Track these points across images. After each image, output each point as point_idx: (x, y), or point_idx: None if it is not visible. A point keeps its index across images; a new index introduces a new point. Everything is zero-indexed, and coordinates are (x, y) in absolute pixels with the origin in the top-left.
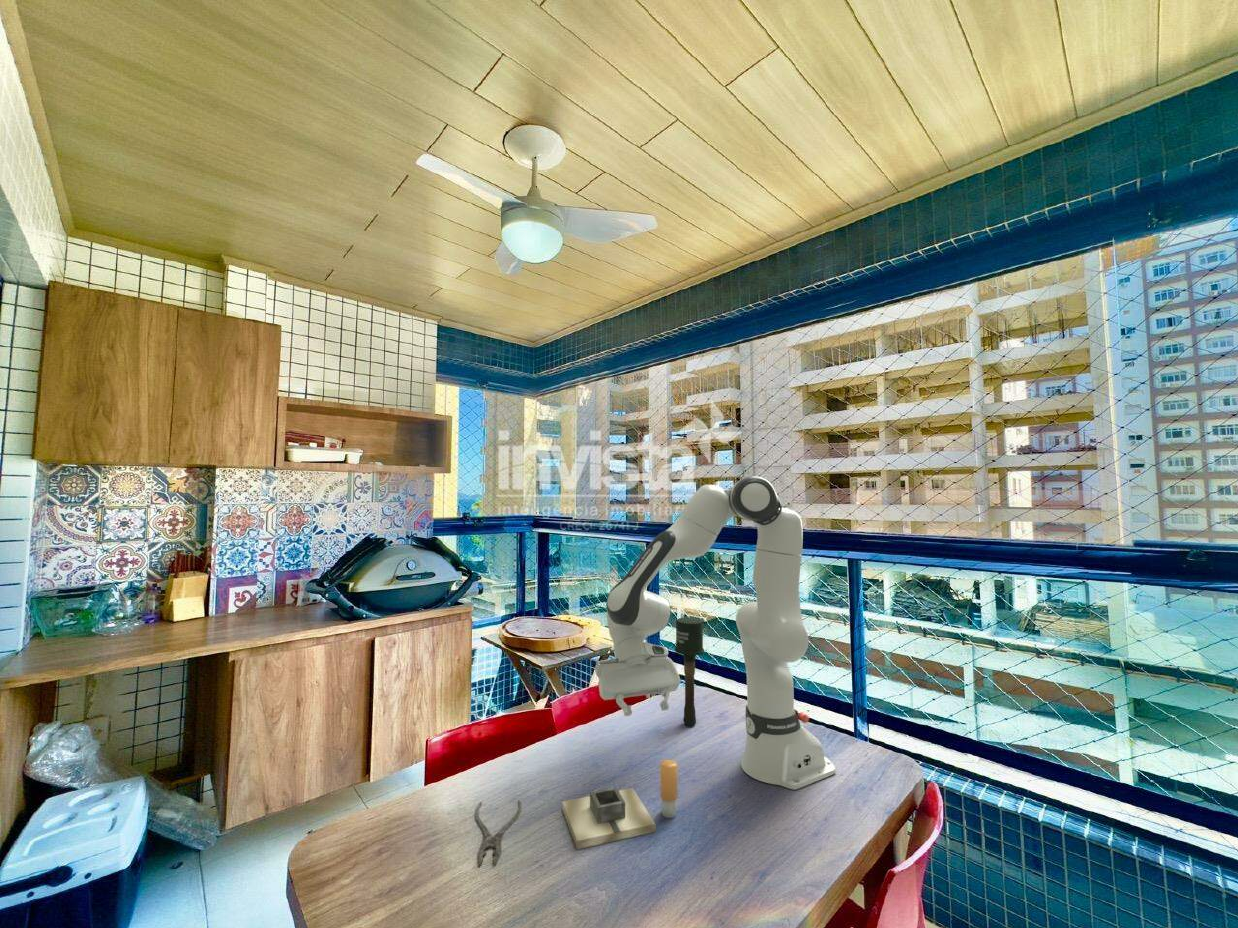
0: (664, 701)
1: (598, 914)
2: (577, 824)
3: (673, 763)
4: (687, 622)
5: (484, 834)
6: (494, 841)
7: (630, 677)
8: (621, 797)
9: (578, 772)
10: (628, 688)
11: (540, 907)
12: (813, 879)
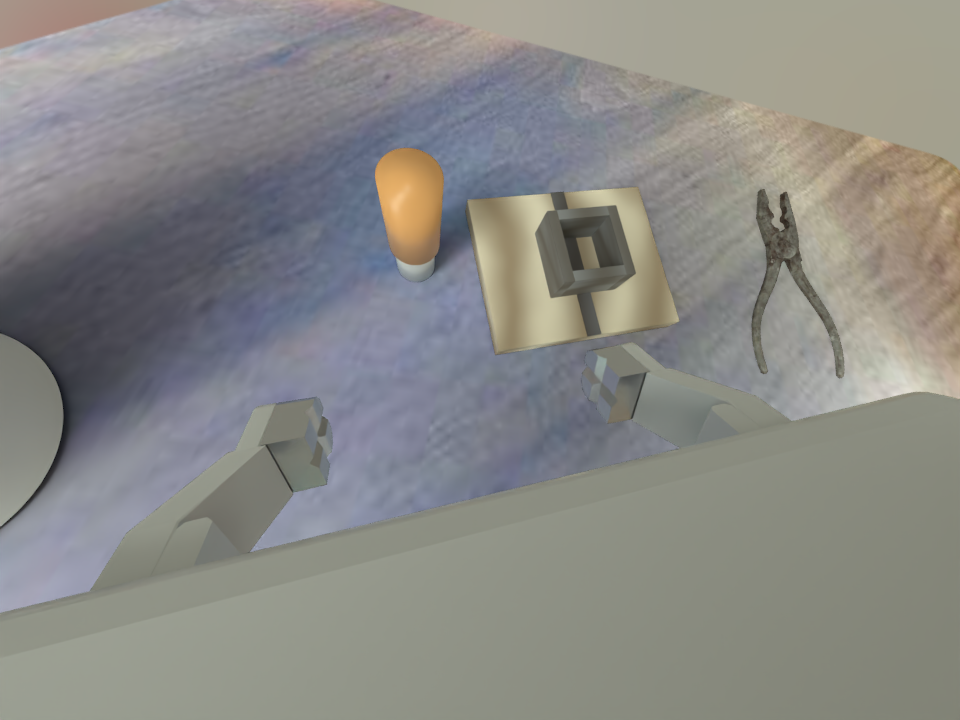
0: (277, 434)
1: (591, 65)
2: (639, 234)
3: (389, 178)
4: None
5: (801, 267)
6: (778, 242)
7: (860, 671)
8: (554, 234)
9: None
10: (738, 456)
11: (674, 98)
12: (179, 20)
